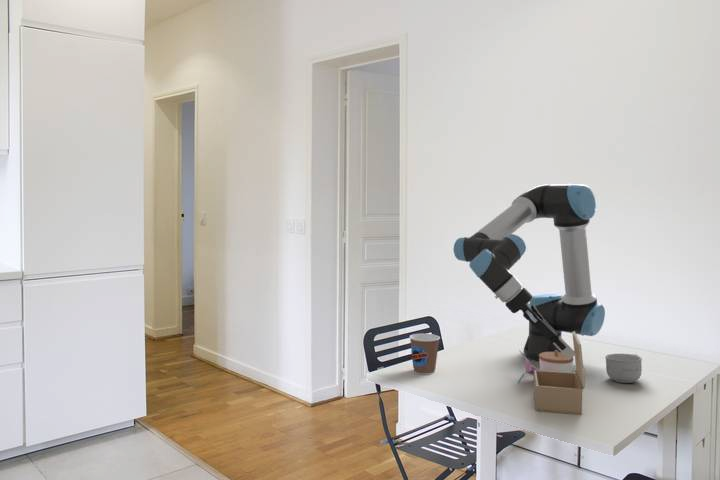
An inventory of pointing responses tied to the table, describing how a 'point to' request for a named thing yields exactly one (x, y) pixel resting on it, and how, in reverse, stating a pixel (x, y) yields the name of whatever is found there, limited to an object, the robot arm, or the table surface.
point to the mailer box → (557, 392)
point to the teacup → (624, 367)
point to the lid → (578, 360)
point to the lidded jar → (555, 362)
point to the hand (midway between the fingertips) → (572, 356)
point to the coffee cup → (424, 352)
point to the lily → (528, 367)
